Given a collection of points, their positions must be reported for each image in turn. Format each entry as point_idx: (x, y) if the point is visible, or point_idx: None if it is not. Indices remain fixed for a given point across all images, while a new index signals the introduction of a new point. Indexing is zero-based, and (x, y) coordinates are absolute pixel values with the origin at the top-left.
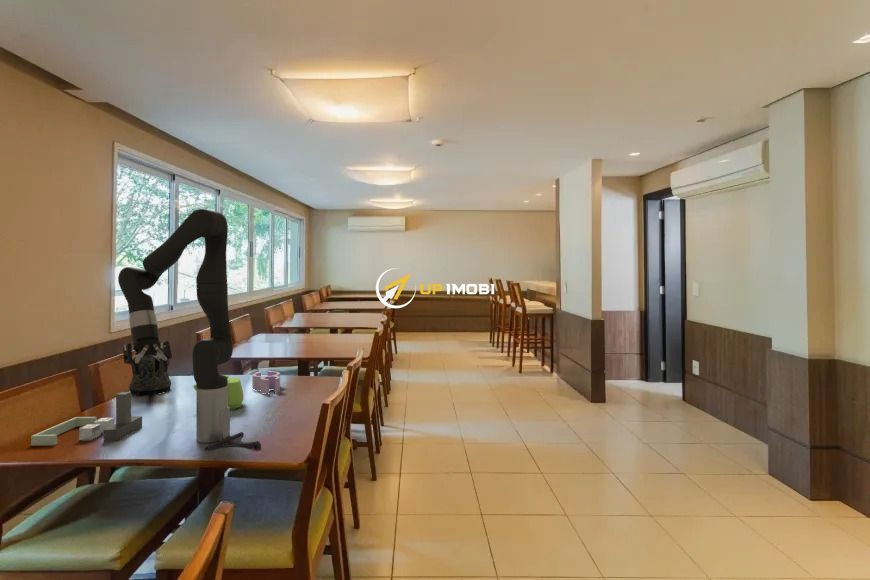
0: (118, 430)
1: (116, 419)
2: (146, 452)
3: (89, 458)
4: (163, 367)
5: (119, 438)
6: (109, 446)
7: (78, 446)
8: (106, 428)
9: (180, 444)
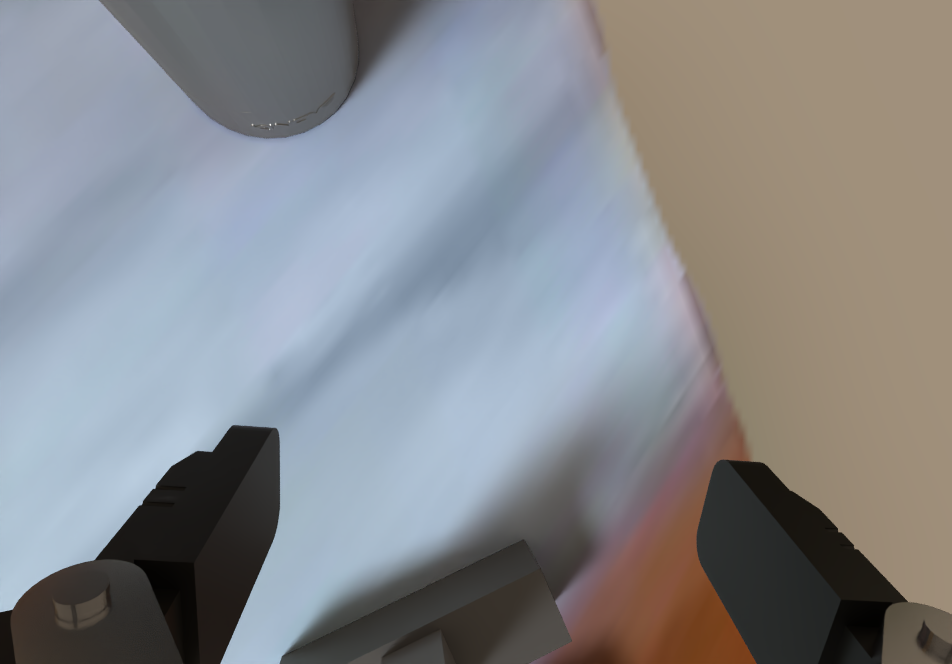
0: (520, 572)
1: None
2: (576, 228)
3: (731, 426)
4: (247, 492)
5: (502, 554)
6: (587, 501)
7: (646, 654)
8: (548, 651)
9: (421, 152)
